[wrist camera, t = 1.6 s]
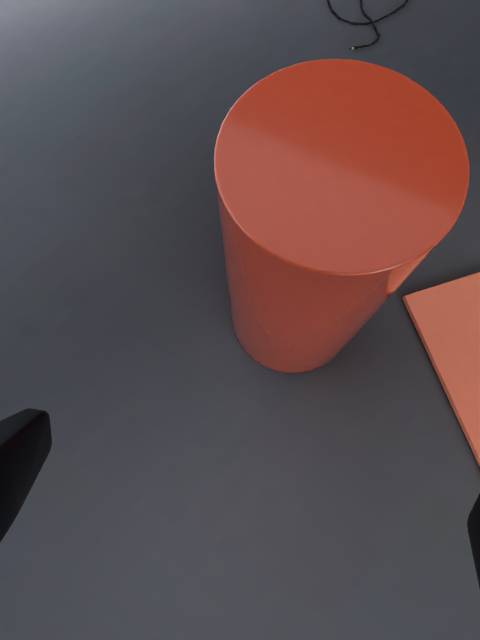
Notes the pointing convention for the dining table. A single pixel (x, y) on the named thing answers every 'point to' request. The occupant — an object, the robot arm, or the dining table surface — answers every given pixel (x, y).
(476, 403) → the terracotta mat
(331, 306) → the terracotta tumbler
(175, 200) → the dining table surface
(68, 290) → the dining table surface
